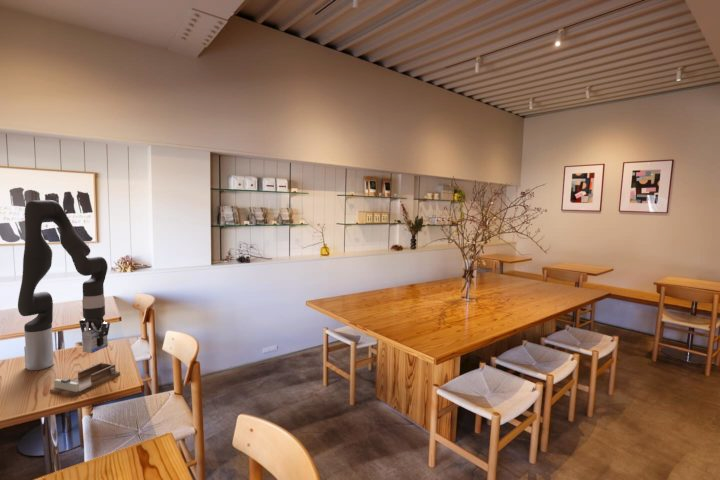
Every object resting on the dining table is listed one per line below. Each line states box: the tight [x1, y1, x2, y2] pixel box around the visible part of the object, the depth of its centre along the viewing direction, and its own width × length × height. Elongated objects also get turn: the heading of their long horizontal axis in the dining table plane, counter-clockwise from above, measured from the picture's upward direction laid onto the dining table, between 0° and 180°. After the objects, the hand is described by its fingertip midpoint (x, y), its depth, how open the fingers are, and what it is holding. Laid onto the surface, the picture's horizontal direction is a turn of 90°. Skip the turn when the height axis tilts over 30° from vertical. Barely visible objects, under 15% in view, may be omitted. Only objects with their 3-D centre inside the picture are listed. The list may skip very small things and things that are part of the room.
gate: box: [53, 377, 79, 392], centre depth 145 cm, size 11×2×4 cm, turn 75°
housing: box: [49, 361, 121, 398], centre depth 153 cm, size 12×20×4 cm, turn 165°
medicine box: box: [81, 329, 109, 354], centre depth 156 cm, size 8×4×9 cm, turn 168°
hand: (95, 345), depth 156 cm, fingers closed on medicine box, 4 cm apart
